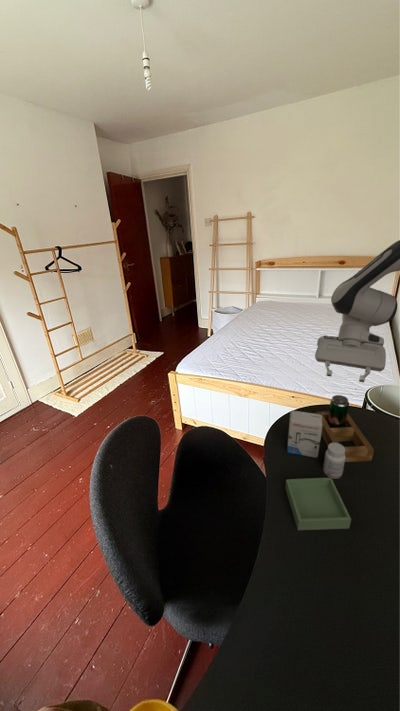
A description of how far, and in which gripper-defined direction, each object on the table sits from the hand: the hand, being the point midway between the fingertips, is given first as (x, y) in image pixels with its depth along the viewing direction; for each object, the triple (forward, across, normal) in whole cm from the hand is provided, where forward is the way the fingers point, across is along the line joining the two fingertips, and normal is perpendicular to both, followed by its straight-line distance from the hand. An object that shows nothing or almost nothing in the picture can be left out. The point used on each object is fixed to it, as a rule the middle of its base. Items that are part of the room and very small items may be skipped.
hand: (344, 378), depth 94 cm
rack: (+19, +2, +2) cm, 19 cm away
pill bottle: (+29, +2, -8) cm, 30 cm away
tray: (+37, 0, -17) cm, 41 cm away
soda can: (+16, 0, +4) cm, 17 cm away
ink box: (+25, -7, -5) cm, 27 cm away
